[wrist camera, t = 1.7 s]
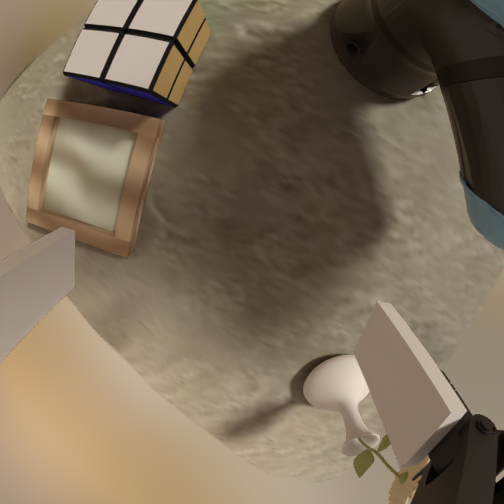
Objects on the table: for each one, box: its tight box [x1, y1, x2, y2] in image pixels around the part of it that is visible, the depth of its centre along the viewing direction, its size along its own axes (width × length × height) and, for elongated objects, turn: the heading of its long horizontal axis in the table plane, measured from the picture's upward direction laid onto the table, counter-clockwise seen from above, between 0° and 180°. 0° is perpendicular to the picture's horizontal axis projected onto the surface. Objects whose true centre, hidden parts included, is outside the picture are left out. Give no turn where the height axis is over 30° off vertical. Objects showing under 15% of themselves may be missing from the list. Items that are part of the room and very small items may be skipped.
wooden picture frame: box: [26, 99, 167, 258], centre depth 31 cm, size 16×16×2 cm
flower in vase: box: [303, 355, 430, 504], centre depth 30 cm, size 13×11×25 cm
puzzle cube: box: [63, 0, 211, 107], centre depth 23 cm, size 10×10×10 cm
